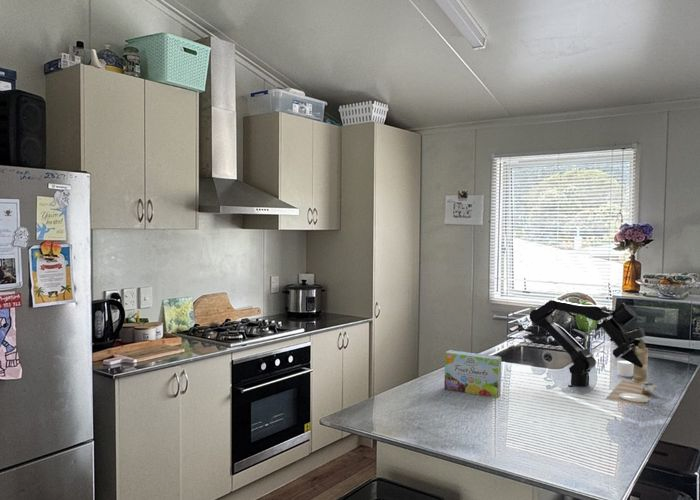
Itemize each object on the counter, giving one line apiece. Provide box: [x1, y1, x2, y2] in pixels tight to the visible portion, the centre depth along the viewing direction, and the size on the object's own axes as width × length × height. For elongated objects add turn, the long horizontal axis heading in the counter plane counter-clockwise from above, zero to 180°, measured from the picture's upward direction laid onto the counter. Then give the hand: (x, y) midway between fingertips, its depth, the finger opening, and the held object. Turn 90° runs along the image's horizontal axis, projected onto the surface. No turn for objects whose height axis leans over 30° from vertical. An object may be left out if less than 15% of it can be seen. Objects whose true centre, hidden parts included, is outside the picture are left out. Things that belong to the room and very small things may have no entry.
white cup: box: [616, 359, 634, 378], centre depth 253 cm, size 7×7×7 cm
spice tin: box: [641, 380, 655, 396], centre depth 225 cm, size 4×4×4 cm
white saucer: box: [619, 393, 650, 403], centre depth 218 cm, size 10×10×1 cm
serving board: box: [605, 380, 657, 407], centre depth 226 cm, size 34×13×1 cm, turn 145°
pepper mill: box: [631, 342, 649, 384], centre depth 219 cm, size 5×5×15 cm
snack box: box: [443, 349, 502, 399], centre depth 225 cm, size 21×6×15 cm, turn 62°
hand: (644, 366), depth 218 cm, fingers closed on pepper mill, 5 cm apart
